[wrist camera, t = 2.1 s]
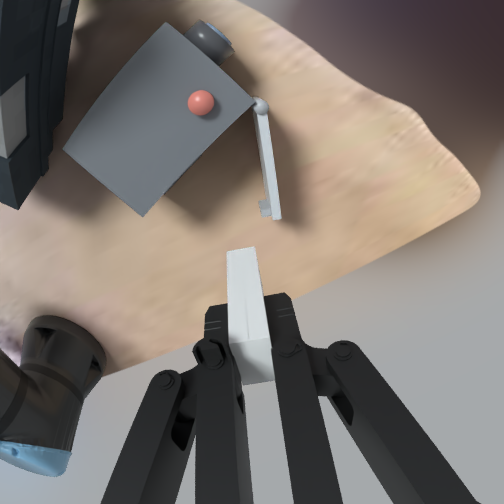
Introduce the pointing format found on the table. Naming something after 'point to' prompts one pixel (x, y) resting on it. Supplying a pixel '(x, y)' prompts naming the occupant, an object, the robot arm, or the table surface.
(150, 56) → the camera body
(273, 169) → the door
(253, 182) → the table surface
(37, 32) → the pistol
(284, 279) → the table surface
